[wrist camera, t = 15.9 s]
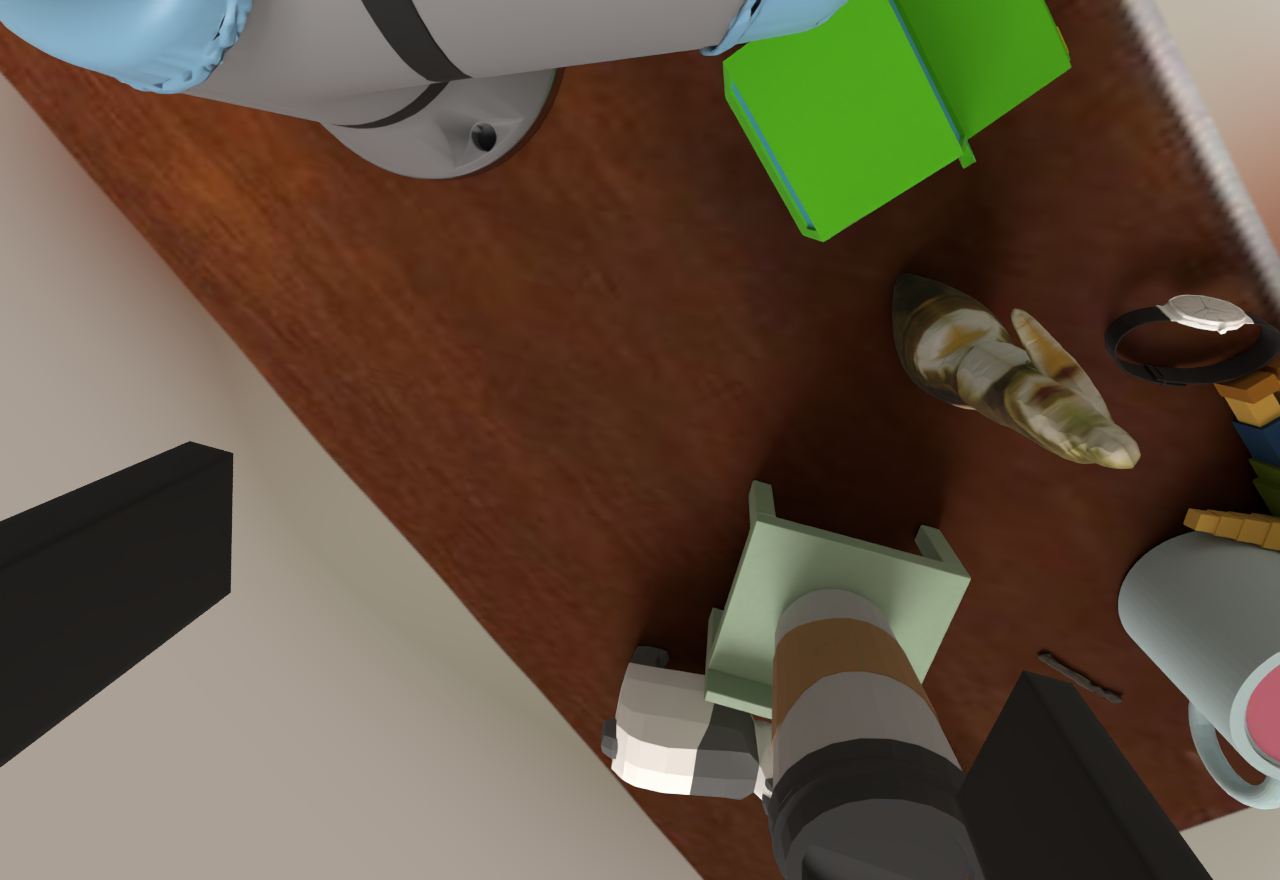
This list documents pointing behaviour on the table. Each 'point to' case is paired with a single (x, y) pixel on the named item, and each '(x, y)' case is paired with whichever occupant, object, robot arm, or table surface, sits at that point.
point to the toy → (1276, 438)
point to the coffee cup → (858, 753)
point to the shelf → (813, 560)
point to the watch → (1201, 316)
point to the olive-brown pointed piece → (1004, 372)
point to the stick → (1079, 678)
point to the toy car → (885, 97)
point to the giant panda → (684, 736)
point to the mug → (1216, 647)
